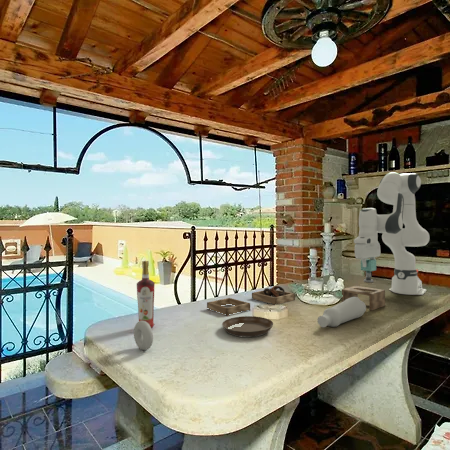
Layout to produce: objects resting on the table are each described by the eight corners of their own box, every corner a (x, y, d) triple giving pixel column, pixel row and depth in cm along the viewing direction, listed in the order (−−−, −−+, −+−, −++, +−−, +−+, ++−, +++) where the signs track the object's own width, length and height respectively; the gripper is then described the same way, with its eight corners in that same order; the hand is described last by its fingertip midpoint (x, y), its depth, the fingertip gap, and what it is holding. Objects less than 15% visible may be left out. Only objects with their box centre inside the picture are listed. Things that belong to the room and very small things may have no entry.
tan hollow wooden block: (355, 300, 178) (355, 285, 178) (385, 305, 165) (385, 290, 165) (341, 304, 169) (341, 289, 169) (371, 310, 157) (371, 294, 157)
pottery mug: (280, 296, 191) (285, 286, 187) (282, 307, 182) (287, 296, 179) (261, 292, 190) (265, 281, 186) (261, 302, 182) (266, 291, 178)
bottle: (345, 306, 153) (308, 321, 133) (354, 291, 149) (319, 305, 130) (360, 319, 148) (325, 338, 128) (371, 305, 144) (336, 321, 124)
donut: (132, 347, 114) (131, 318, 114) (140, 344, 116) (140, 316, 116) (146, 355, 107) (145, 325, 107) (155, 352, 109) (154, 322, 109)
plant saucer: (212, 329, 132) (212, 321, 132) (249, 320, 145) (249, 312, 145) (245, 344, 116) (244, 335, 116) (284, 331, 128) (284, 323, 128)
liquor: (136, 331, 130) (135, 262, 130) (137, 326, 138) (136, 260, 138) (155, 330, 132) (154, 262, 132) (155, 324, 139) (154, 260, 139)
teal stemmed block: (366, 280, 169) (366, 258, 169) (376, 282, 164) (376, 259, 164) (360, 281, 165) (360, 259, 165) (371, 283, 161) (371, 260, 161)
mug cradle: (271, 294, 195) (270, 288, 195) (294, 299, 181) (294, 293, 181) (251, 298, 184) (251, 292, 184) (275, 304, 170) (275, 298, 170)
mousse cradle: (229, 304, 173) (229, 297, 173) (250, 310, 160) (250, 303, 160) (207, 309, 163) (206, 302, 163) (227, 316, 151) (227, 308, 151)
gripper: (371, 238, 174) (372, 264, 174) (352, 240, 161) (352, 267, 161) (383, 239, 169) (384, 265, 169) (364, 240, 156) (364, 268, 156)
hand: (368, 266), depth 165 cm, fingers closed on teal stemmed block, 5 cm apart
